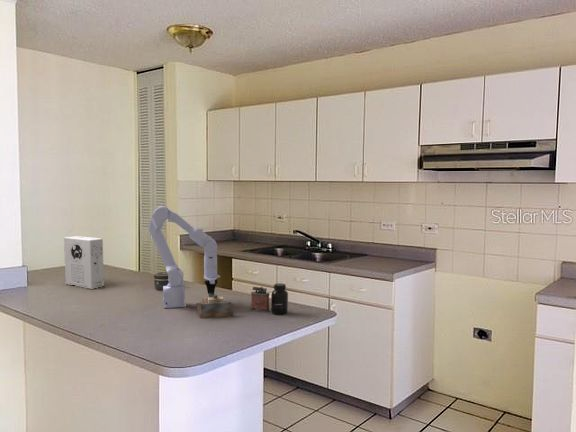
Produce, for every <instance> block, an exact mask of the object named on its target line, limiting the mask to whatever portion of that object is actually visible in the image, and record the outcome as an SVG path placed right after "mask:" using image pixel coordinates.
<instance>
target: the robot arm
mask: <svg viewBox="0 0 576 432" xmlns="http://www.w3.org/2000/svg"><path fill="white" fill-rule="evenodd" d="M165 222H169V223H175V224H176V225H177V226H178V227H180V228H181V229H183V230H184V231H185V232H186V233H188V234H189V235H188V236H189V238H190V240H192V241H193V242H194V243H196V244H197V245H198V246H200V247H202V248H203V250H204V256H203V269H204V270H203V272H204V273H203V279H204V281H203V282H204V284H205V286H206V290H207V294H208V293H215V290H216V286H217V284H218V280H217V279H218V278H221V275H219V274H218V252H217V250H218V248H219V247H218V244H217V242H216V240H215V239H214V238H212V236H211V235H208V234H207V233H206V232H205V231H204V229H203V228H202V227H200V228H199V227H193V225H191V224H190V223H188V222H187V221H186V219H184V218H183V217H182V216H181V215H180V214H178V213H177V212H175V211H173V210H172V209H169V207H167V206H166V205H158V206H157V207H156V208H155V209H154V210H153V212H152V214H151V217H150V222H149V227H148V232H149V233H150V236H151V238H152V240H153V243H154V245H155V246H156V249H157V252H158V254H159V255H160V258H161V261H162V262H163V265H164V267H165V270H166V271H165V272H167V274H168V281H169V283H168V286H163V293H162V294H163V297H162V304H163V305H162V306H163V309H169V308H170V309H171V308H183V307H184V308H186V307H187V303H186V296H185V294H186V293H185V291H186V290H185V283H184V272H183V270H182V269H180V268H179V265H178V264H177V262H176V260H175V258H174V256H173V253H172V252H171V249H170V247H169V245H168V243H167V240H166V238H165V235H164V233H163V231H162V227H163V225H164V223H165Z"/></svg>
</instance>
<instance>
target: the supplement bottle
mask: <svg viewBox="0 0 576 432" xmlns="http://www.w3.org/2000/svg"><path fill="white" fill-rule="evenodd" d="M286 287H287V285H286V283H280V282H279V283H274V285H273V290H272V292H271V297H270V298H271V300H270V301H271V305H270V306H271V310H270V311H271V314H273V315H276V316H283V315H284V314H285V315H287V313H288V312H289V310H288V309H289V292H288V291H287V288H286Z"/></svg>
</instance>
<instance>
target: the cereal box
mask: <svg viewBox="0 0 576 432" xmlns="http://www.w3.org/2000/svg"><path fill="white" fill-rule="evenodd" d="M63 239H64V240H63V242H64V243H63V244H64V246H63V247H64V271H65V272H64V273H65V274H64V275H65V284H66V283H67V284H71V285H76V286H81V287H86V288H91V289H92V288H97V287H101V288H103V287H102V286H104V287H105V278H104V277H105V276H104V272H105V271H104V246H103V245H104V243H103V242H104V241H103V238H99V237H91V236H89V237H88V236H80V235H75V236H64V237H63ZM76 286H75V287H76ZM81 287H80V288H81ZM86 288H85V289H86ZM91 289H90V290H91ZM97 289H98V288H97ZM92 290H93V289H92Z"/></svg>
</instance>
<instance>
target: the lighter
mask: <svg viewBox="0 0 576 432" xmlns="http://www.w3.org/2000/svg"><path fill="white" fill-rule="evenodd" d="M250 295H251V308H250V310H251V311H253V312H260V313H261V312H263V313H266V312H267V313H268V312H270V293H269V292H267V288H266V287H263V286H260V287H258V286H252V291H251V292H250Z"/></svg>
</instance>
